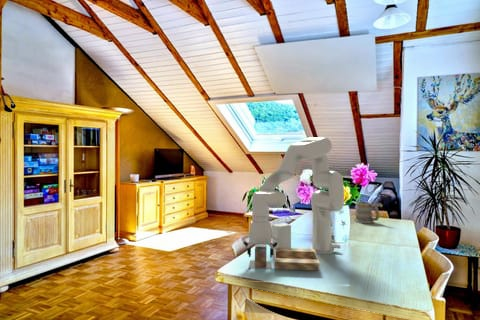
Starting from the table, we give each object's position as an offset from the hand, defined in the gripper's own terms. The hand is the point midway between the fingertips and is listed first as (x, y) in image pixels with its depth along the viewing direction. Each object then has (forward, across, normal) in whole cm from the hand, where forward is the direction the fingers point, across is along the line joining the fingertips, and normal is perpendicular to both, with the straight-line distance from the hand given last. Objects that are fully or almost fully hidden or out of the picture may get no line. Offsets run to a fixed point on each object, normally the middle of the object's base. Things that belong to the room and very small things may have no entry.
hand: (260, 256), depth 150 cm
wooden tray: (+4, -16, -2) cm, 17 cm away
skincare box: (+4, -10, -20) cm, 23 cm away
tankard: (+5, -75, -100) cm, 125 cm away
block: (+4, 0, 0) cm, 4 cm away
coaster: (+4, 0, 0) cm, 4 cm away
